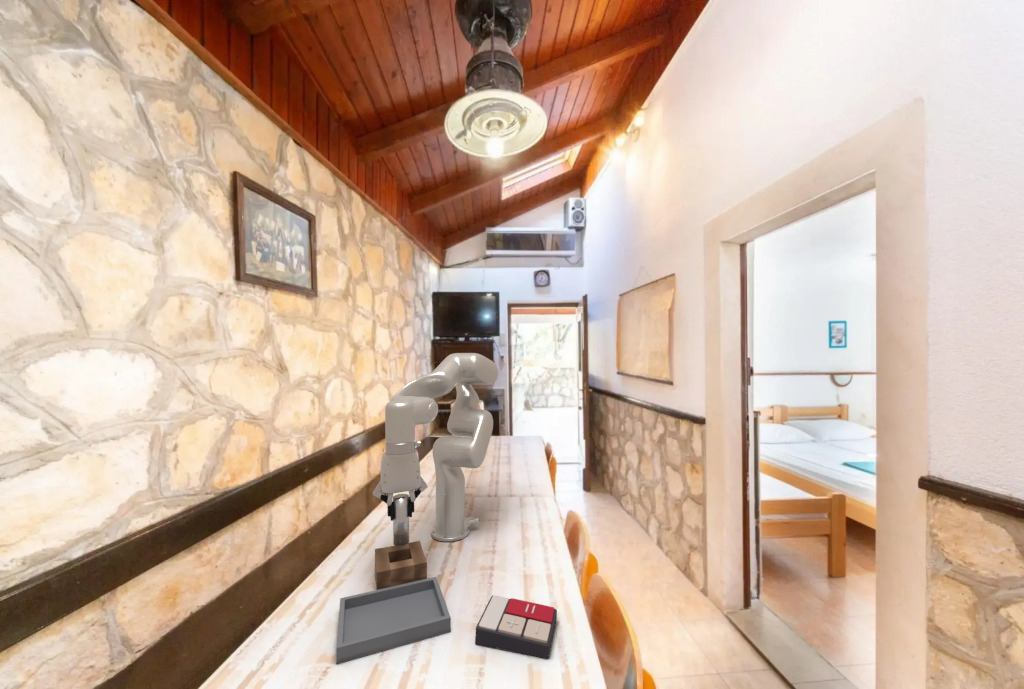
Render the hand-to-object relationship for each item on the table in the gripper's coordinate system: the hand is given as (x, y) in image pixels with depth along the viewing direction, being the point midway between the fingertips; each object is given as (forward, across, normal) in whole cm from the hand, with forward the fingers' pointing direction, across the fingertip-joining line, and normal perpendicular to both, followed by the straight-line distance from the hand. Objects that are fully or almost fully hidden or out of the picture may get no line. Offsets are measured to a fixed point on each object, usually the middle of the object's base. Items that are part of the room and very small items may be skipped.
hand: (401, 516), depth 100 cm
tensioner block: (+16, 0, 0) cm, 16 cm away
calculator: (+17, -21, +30) cm, 40 cm away
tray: (+16, +4, +16) cm, 23 cm away
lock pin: (+7, 0, 0) cm, 7 cm away
